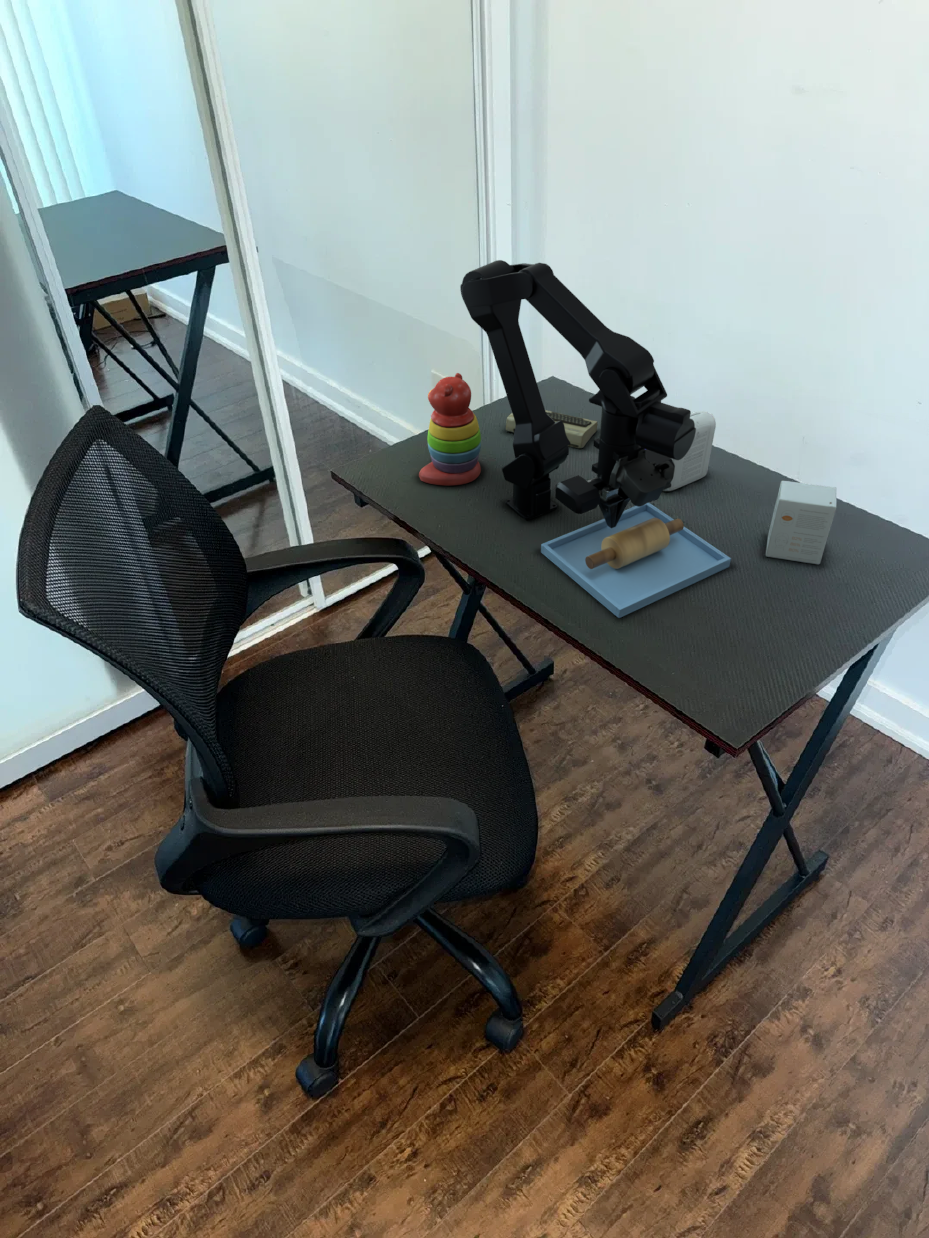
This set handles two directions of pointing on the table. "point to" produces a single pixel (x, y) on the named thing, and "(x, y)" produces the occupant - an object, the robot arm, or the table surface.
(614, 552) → the rolling pin
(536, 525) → the table surface
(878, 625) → the table surface
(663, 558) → the tray
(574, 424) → the computer
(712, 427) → the photo printer
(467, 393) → the stacking bear
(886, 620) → the table surface
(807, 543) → the small box
